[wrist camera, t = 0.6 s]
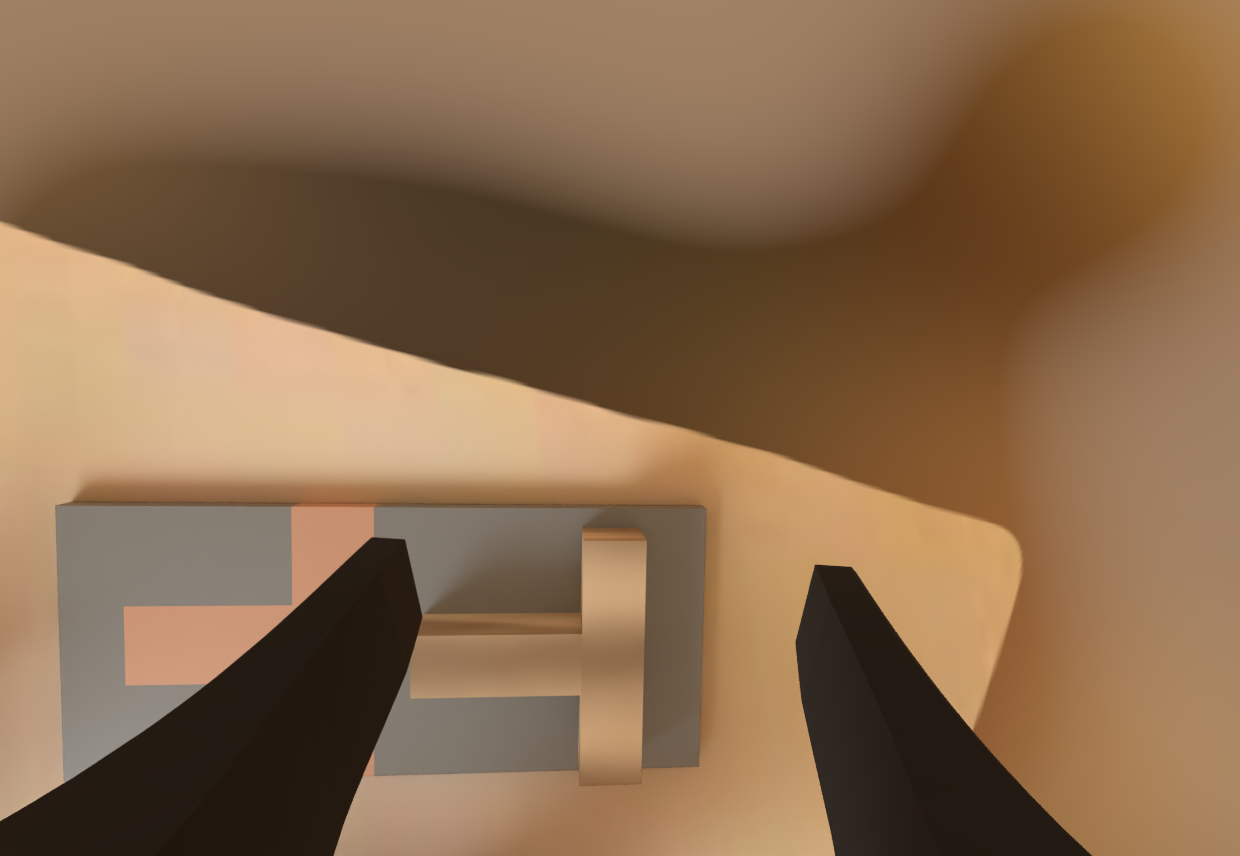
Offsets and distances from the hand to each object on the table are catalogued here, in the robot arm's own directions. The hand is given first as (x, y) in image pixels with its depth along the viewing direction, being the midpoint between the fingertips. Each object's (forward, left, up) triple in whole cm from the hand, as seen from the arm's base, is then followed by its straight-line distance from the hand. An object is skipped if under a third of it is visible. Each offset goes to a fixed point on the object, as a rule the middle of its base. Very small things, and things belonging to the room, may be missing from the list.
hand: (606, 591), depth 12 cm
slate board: (-10, +9, -23) cm, 27 cm away
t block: (-10, +2, -22) cm, 24 cm away
